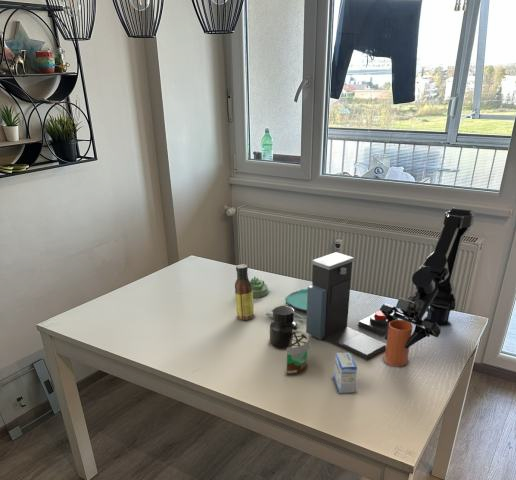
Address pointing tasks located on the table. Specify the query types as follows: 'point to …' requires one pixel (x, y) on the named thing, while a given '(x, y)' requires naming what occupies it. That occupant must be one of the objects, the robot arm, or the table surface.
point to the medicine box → (345, 372)
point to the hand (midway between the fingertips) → (395, 343)
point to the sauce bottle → (243, 294)
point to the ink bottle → (282, 327)
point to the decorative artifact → (258, 288)
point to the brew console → (374, 324)
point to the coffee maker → (335, 307)
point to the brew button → (380, 315)
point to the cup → (397, 342)
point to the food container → (297, 352)
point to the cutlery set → (296, 302)
